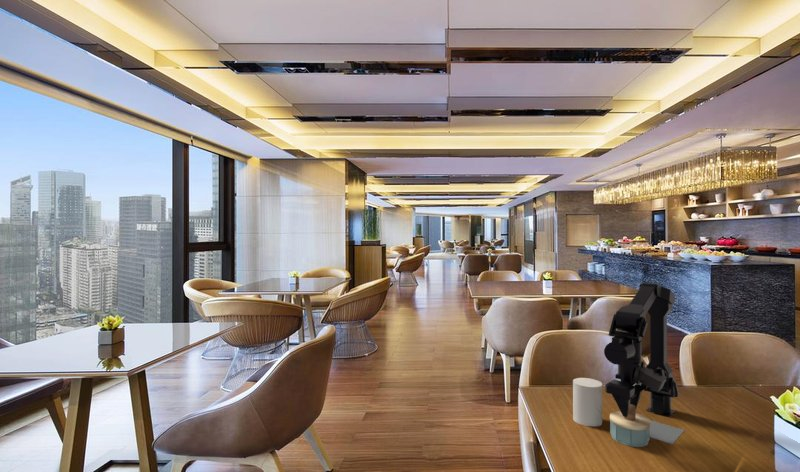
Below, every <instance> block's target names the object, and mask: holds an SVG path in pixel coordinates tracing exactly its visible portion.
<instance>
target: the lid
mask: <svg viewBox="0 0 800 472" xmlns="http://www.w3.org/2000/svg"><path fill="white" fill-rule="evenodd" d="M636 411H637V409H636V406H634V405H632V404H630V406H629V412H628V417H624V416H623V415H622V413H621V411H620V410H617V411H616V410H615V411H611V412H610V413H609V422H610V421H611V422H612V423H614V424H615V425H617V426H620V427H623V428H626V429H631V430H647V429H649V428H650V427H651V421H652V420H651V419H649V418H648V417H646V416H645V415H643V414H640V413H638V412H636ZM650 420H651V421H650Z"/></svg>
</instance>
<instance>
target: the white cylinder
mask: <svg viewBox="0 0 800 472" xmlns="http://www.w3.org/2000/svg"><path fill="white" fill-rule="evenodd" d="M572 419H573V421H574V422H575V423H577V424H579V425H581V426H586V427H600V426H602V424H603V383H602V382H601V381H600V380H596V379H593V378H588V377H577V378H574V379H572Z"/></svg>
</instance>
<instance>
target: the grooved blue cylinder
mask: <svg viewBox="0 0 800 472" xmlns="http://www.w3.org/2000/svg"><path fill="white" fill-rule="evenodd" d="M609 423H610V424H609V434H610V435H611V438H612V439H613V440H614V441H616V442H617V443H619V444H621V445H625V446H628V447H634V448H642V447H646V446H648V445H649V441H651V440H650V439H651V438H650V428H649V429H647V430H631V429H626V428H623V427H620V426H617V425H615V424H614V423H612V422H611V421H610V420H609Z"/></svg>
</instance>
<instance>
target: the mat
mask: <svg viewBox="0 0 800 472" xmlns="http://www.w3.org/2000/svg"><path fill="white" fill-rule="evenodd" d="M649 420H650V421H651V427H650V439H653V440H656V441H657V440H658V441H661V442H664V443H666V444H670V445H673V444H674V443H675V442H676V441H677V440H678V438H679V437H680V436H681V435H682V434H683V433H684V432H685V431H686V430H685V429H683V428H679V427H675V426H672V425H668V424H665V423H662V422H658V421H655V420H651V419H649Z"/></svg>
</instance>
